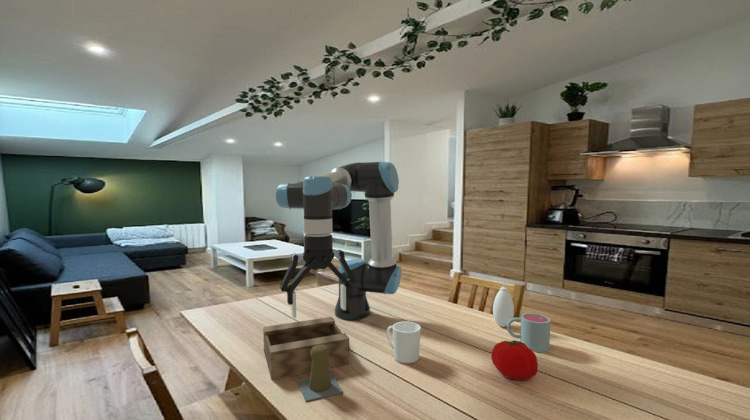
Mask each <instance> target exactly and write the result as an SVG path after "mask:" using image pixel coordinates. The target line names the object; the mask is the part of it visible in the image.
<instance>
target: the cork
mask: <svg viewBox="0 0 750 420" xmlns="http://www.w3.org/2000/svg"><path fill="white" fill-rule="evenodd" d="M310 356H311V359H312V366H311V371H310V374H309V375H310V376H309V378H310V382H309V388H310V390H312V391H315V392H323V391H326V390H328V389H329V388H330V387H331V380H330V374H331V372H330V368H329V366H328V359H327V358H328V357H329V348H328V347H327V346H325V345H316V346H314V347H312V349H311V351H310Z"/></svg>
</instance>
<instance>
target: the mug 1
mask: <svg viewBox="0 0 750 420" xmlns="http://www.w3.org/2000/svg"><path fill="white" fill-rule="evenodd" d="M391 329H392V339H391V335H390V334H391V333H390V330H391ZM421 329H422V327H421V325H420V324H419V323H416V322H413V321H409V320H407V321H406V320H405V321H403V320H402V321H399V322H395V323H394V324H393V325H389V326H388V327H387V329H386V335H387V340H388V343H389V346H390V347H391V349H392V350H393V358H394V361H396V362H397V363H399V362H400V363H399V364H402V363H403V365H411V364H412V363H413V364H415V363H417V362H418V361H419V359H420V348H421V346H420V344H421Z"/></svg>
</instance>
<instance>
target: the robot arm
mask: <svg viewBox="0 0 750 420" xmlns="http://www.w3.org/2000/svg"><path fill="white" fill-rule="evenodd" d="M399 181H400V180H399V175H398V171H397V168H396V166H395V164H394V163H392V162H389V161H367V162H360V161H359V162H351V163H348V164H345V165H342V166H339V167H336V168H335V167H334V168H333V169H332V170H331V171H330V172H328V173H324V174H322V175H317V176H314V175H313V176H312V175H310V176H308V175H307V176H306V177H304V179H303V180H302V181H298V182H295V183H290V182H287V183H280V184H279V185H278V186H277V188H276V191H275V202H276V204H277V205H278V206H279V208H284V209H289V210H291V209H297V210H299V209H300V210H301V209H302V210H303V234H305V235H304V236H303V253H302V254H296V252H295V253H292V255H291V261H290V264H289V266H288V268H287V270H286V272H285V274H284V276H283V279H282V281H281V283H280V285H279V289H280V290H281V292H283V293H284V292H286V298H287V299H286V301H287V304H288V305H290V306H291V309H290V311H291V316H292V318H293V319H294V318H295V319H296V318H297V292H296V290H295V289H297V287H298V286H299V284H300V283H301V281H302V280H303V279H304V278H305V277H306V275H307V274H308V273H309V272H310V271H311V270H313V271H317V270H326V268H329V270H331V272H332V273H333V274H334V275H335V276H336V277H337V278H338V298H337V301H336V305H335V308H334V316H336V317H337V318H338V319H341V320H348V321H353V320H356V321H357V320H361V319H365V318H367V317H369V316H370V314H371V308H370V304H369V302H368V298H367V293H375V294H384V295H394V294H395V293H396V292H397V291H398V290H399V287H400V282H401V278H402V269H401V268H402V267H401V266H400V265H397V260H396V259H395V258H394V256H393V239H392V238H393V236H392V231H393V230H392V211H391V210H392V209H391V208H392V206H391V200H392V199H393V198H394V197H395V193H396V192H398V189H399V183H400V182H399ZM352 192H360V193H361V192H362V193H364V198H365V199H366V200H367V201H368V209H369V212H368V213H369V227H370V228H369V230H370V232H369V233H370V250H371V258H370V259H369V260H368V262H367V261H366V259H364V258H355V259H349V260H348V259H347V260H346V256H345V252H344V251H343V250H341V249H338V250H337V251H333V242H334V241H333V235H332V233H333V210H334V211H335V210H341V209H343V208H346V207H348V206H349V204H351V201H352ZM334 258H335V259H337V260H338V262H339V263H340V264H339V265H338V269H337V267H336V266H335V265H334V264H333V263H332V261H333V260H334ZM302 260H303V261H304V264H303V265H302V267H301V268H300V270H299V271H298V273H297V274H296V275H295V276H294V274H295V271H296V270H297V267H298V264H299V263H300V262H301V261H302ZM293 276H294V278H293V279H292V277H293Z"/></svg>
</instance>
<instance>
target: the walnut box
mask: <svg viewBox="0 0 750 420" xmlns="http://www.w3.org/2000/svg"><path fill="white" fill-rule="evenodd" d="M262 329H263V330H262V331H263V333H262V334H263V351H264V357H265V360H266V365H267V368H268V373H269V376H270V380H272V381H273V380H276V379H282V378H286V377H291V376H295V375H300V374H305V373H311V366H312V359H311V356H310V351H311V349H312V347H314V346H316V345H325V346H327V347H328V348H329V357H328V358H327V359H328V366H329V369H330V368H334V367H339V366H343V365H347V364H348V365H349V364H350V337H349V336H348V335H347V333H346V332H343V331H341V329H340V328H339V326H338V325H336V320H335V319H334V318H333V316H328V317H320V318H314V319H307V320H300V321H293V322H287V323H281V324H274V325H268V326H263V327H262Z"/></svg>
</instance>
